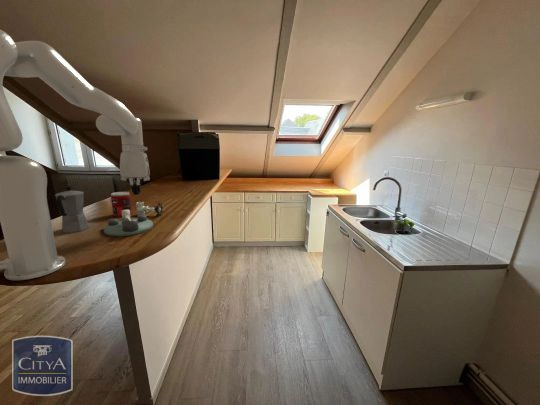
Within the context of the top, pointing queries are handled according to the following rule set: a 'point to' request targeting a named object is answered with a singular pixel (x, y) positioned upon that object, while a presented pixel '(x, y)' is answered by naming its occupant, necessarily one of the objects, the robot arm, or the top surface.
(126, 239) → the top surface
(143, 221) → the instrument base
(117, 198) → the canned food
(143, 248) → the top surface
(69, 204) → the coffeepot
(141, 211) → the valve
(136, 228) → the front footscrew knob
